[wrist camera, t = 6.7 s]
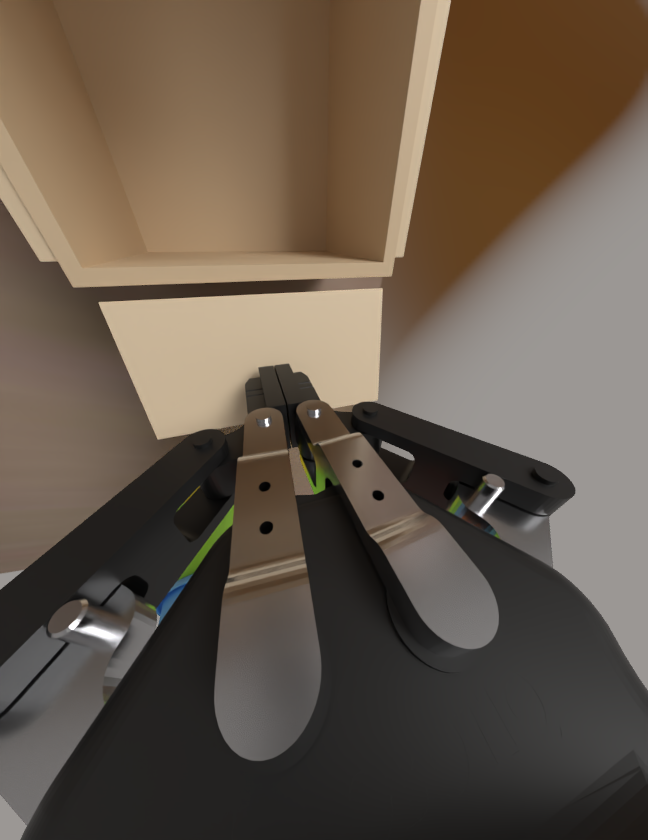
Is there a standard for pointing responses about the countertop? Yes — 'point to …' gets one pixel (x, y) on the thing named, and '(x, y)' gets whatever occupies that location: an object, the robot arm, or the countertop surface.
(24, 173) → the carton
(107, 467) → the countertop surface
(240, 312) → the flap
